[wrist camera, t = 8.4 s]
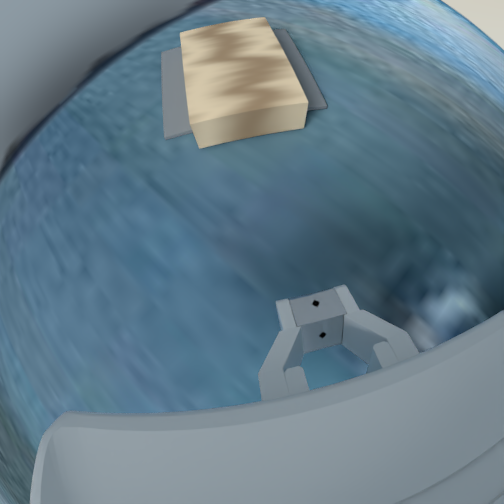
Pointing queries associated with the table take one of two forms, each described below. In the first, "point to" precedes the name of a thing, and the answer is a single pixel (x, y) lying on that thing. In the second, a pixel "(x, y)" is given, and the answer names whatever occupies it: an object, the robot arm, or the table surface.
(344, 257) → the table surface
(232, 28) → the oak slab
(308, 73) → the mat
